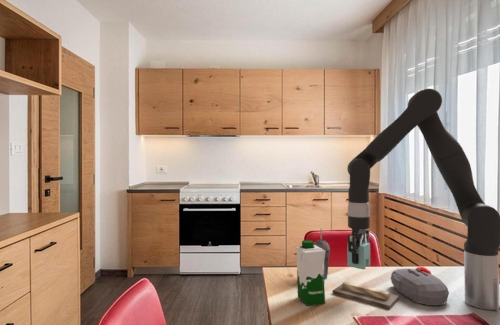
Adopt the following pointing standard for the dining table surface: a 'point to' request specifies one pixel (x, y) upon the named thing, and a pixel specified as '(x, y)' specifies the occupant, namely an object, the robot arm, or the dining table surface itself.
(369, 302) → the cleat board
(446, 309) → the dining table surface
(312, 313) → the dining table surface
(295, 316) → the dining table surface
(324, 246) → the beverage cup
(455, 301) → the dining table surface
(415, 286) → the soft grey pack
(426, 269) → the cap
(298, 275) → the milk carton
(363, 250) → the saddle block
